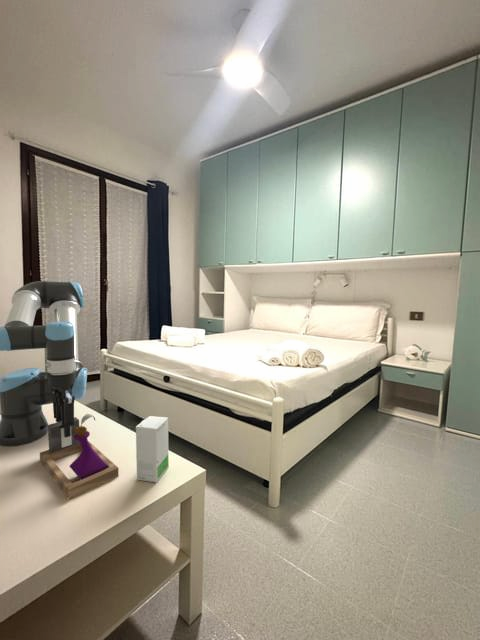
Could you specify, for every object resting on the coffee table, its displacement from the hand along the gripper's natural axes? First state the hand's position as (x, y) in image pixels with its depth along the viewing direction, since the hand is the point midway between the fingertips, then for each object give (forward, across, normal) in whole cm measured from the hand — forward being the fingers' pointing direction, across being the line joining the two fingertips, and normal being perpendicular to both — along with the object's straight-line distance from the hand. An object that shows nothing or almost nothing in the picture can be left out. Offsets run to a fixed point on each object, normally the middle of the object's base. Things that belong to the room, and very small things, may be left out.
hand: (64, 443), depth 95 cm
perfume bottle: (+4, +17, 0) cm, 18 cm away
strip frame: (+4, +11, 0) cm, 12 cm away
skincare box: (+4, +29, +14) cm, 32 cm away
